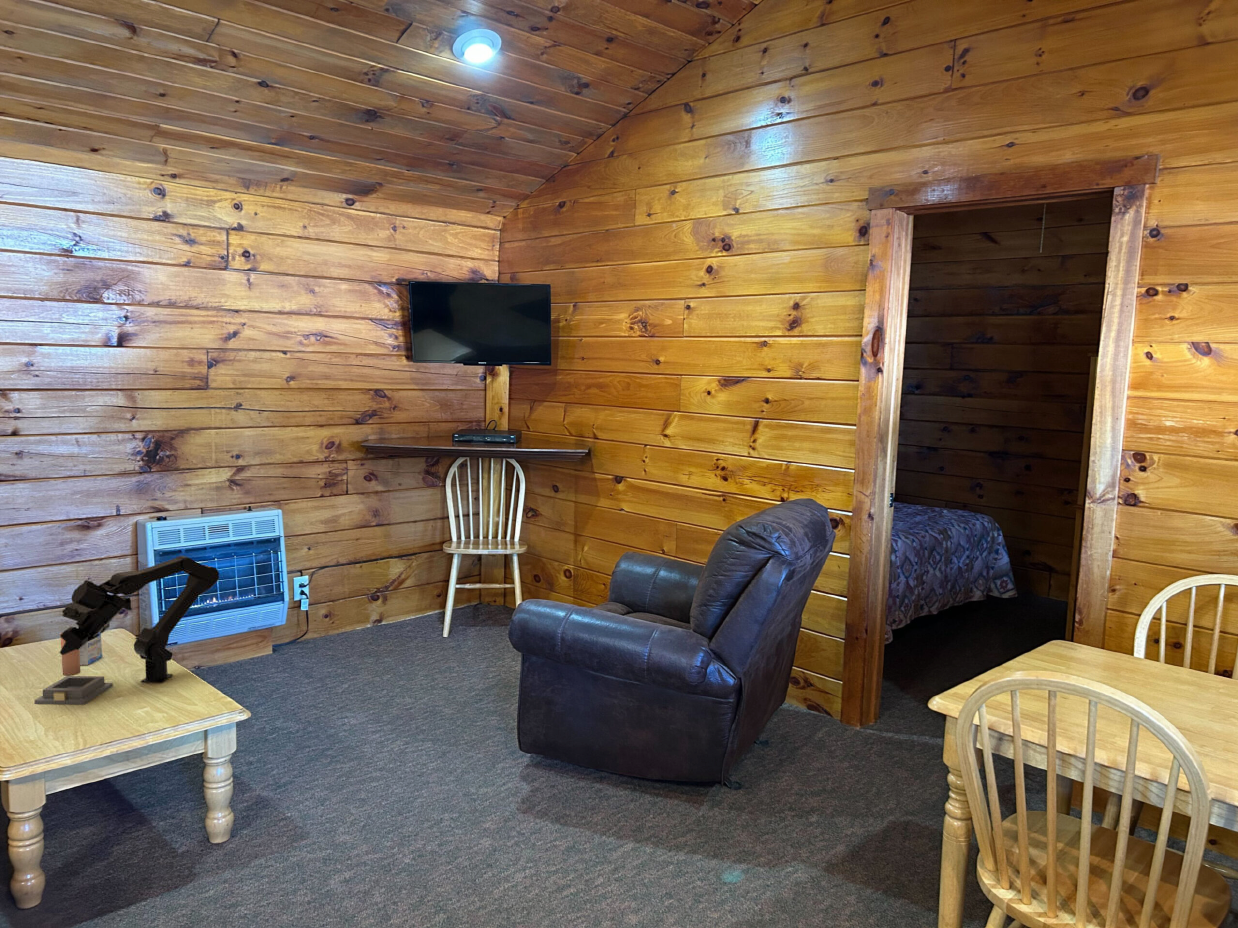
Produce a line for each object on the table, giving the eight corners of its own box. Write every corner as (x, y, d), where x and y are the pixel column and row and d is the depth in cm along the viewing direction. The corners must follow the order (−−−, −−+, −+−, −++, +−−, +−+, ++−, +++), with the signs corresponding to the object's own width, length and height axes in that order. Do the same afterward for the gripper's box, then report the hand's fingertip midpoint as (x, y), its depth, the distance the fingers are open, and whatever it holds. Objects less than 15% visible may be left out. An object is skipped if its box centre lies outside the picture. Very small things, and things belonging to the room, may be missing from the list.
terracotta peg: (69, 670, 259) (66, 630, 257) (84, 670, 259) (81, 630, 257) (59, 675, 254) (56, 635, 253) (74, 675, 254) (71, 635, 253)
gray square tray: (65, 685, 263) (65, 674, 263) (112, 685, 263) (112, 674, 263) (34, 703, 249) (33, 691, 249) (84, 704, 249) (83, 692, 249)
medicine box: (87, 665, 280) (86, 639, 279) (74, 665, 280) (72, 638, 279) (102, 657, 288) (101, 631, 287) (89, 657, 288) (87, 631, 287)
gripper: (96, 585, 264) (58, 623, 263) (66, 602, 245) (25, 642, 245) (125, 610, 266) (88, 647, 265) (98, 629, 247) (57, 669, 247)
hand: (65, 651), depth 256 cm, fingers closed on terracotta peg, 4 cm apart
